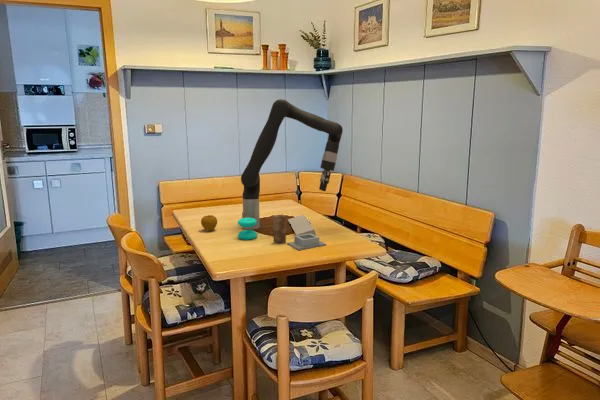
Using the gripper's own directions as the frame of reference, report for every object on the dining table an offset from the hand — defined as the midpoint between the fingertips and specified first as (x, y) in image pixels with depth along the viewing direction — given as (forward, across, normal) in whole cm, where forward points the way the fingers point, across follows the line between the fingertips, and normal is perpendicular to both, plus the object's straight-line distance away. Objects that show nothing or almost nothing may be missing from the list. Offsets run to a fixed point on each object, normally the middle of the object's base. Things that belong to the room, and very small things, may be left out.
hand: (322, 190), depth 245 cm
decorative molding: (+25, -13, -4) cm, 28 cm away
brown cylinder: (+30, +12, -17) cm, 37 cm away
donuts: (+33, +2, -33) cm, 47 cm away
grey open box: (+28, +18, -4) cm, 33 cm away
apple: (+36, -15, -54) cm, 67 cm away
